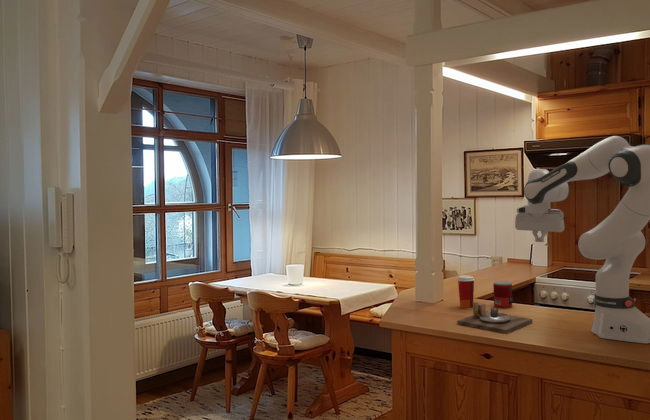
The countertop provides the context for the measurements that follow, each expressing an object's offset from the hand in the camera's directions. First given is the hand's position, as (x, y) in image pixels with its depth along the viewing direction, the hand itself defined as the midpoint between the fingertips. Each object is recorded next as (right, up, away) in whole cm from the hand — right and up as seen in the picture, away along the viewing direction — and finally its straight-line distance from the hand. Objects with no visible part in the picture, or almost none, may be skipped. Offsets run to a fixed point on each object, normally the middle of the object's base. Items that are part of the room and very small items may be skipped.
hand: (539, 241), depth 242 cm
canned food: (-9, -31, +20) cm, 37 cm away
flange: (-22, -31, -6) cm, 38 cm away
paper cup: (-25, -31, +21) cm, 45 cm away
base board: (-21, -33, -7) cm, 39 cm away
